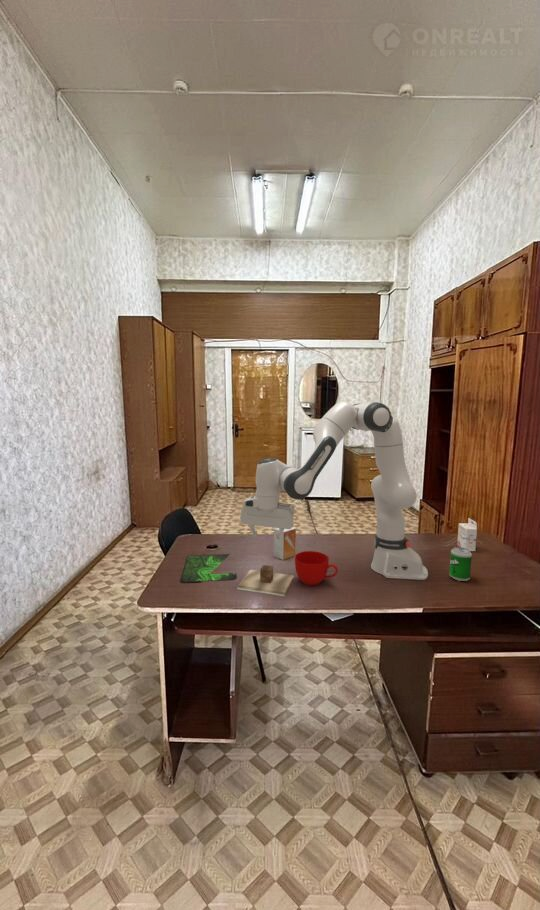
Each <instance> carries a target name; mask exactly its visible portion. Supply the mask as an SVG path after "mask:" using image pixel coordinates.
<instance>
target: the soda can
mask: <svg viewBox="0 0 540 910" xmlns="http://www.w3.org/2000/svg"><path fill="white" fill-rule="evenodd" d="M449 557H450V558H449V569H448V570H449V572H448V573H449V574H448V575H449V577H450V578H451V577H452V578H453V579H455V580H458V581H457V582H459V581H466V582H468V581H469V580H471V573H472V572H471V571H472V559H473V558H472V557H473V554H472V553H471V552H470V550H468V549H466V548H462V547H458V546H455V547H453V548H452V549H451V550H450V556H449ZM452 578H451V579H452ZM453 579H452V580H453ZM455 580H454V581H455Z"/></svg>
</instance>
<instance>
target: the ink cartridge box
mask: <svg viewBox="0 0 540 910" xmlns="http://www.w3.org/2000/svg"><path fill="white" fill-rule="evenodd" d="M467 520H468V521H467V523H460V522H459V523H458V530H457V531H458V533H457V542H456V543H457V544H456V546H457V545H458V546H459V547H462V548H466V549H468V550H470V551H475V552H476V543H477V536H478V535H477V532H478V523H477V521H475V520H474V519H471V518H470V517H468V518H467ZM458 546H457V547H458Z"/></svg>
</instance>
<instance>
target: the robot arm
mask: <svg viewBox="0 0 540 910" xmlns="http://www.w3.org/2000/svg"><path fill="white" fill-rule="evenodd" d="M351 429H355V430H358V431H359V430H360V431H365V432H371V434H372V436H373V443H374V444H373V445H374V447H373V448H374V457H375V458H374V459H375V465H376V467H377V469H378V471H379V474H378V475H376V476H374V478H373V479H372V481H371V482H370V483H371V484H370V487H371V491H372V494H373V499H374V505H375V512H376V532H375V536H374V543H373V544H374V554H373V556H372V557H373V558H372V562H371V564H370V568H371V570H372V571H374V572H375V573H378V574H380V575H383V577H384V578H387V579H402V580H419V581H421V580H423V581H425V580H427V579H428V577H429V571H428V568H426V566H425V565H423V561H422V558H421V556H420V555H419V554H418V553H417V552H416V551H415V550H414V549H412V544H411V542H410V540H409V538H408V537H405V529H406V525H405V524H406V519H405V515H404V513H403V510H405V509H406V510H407V509H409V508H411V507H413V506H414V505H415V503H416V501H417V496H418V495H417V491H416V489H415V488H414V486H413V484H412V482H411V479H410V476H409V472H408V469H407V466H406V462H405V461H406V460H405V452H404V451H405V450H404V442H403V441H404V440H403V434H402V429H401V425H400V423H399V420H398V419H397V418H396V417H394V416H392V412H391V410H390V408H389V407H388V405H386V404H385V403H382V402H378V401H375V402H374V401H369V402H368V401H367V402H359V403H355V404H352V403H350V402H348V401H344V400H342V401H341V400H340V401H338V402H337V403H336V404H334V405H333V406H332V407H331V408H330V409H329V410H328V411H327V412H326V413H325V414H323V416H322V417H321V419H320V420H319V421H318V422H317V424H316V426H315V427H314V429H313V431H312V436H313V440H314V443H315V447H314V448H313V450H312V452H311V454H310V455H309V456H308V458H307V459H306V460H305V463H304V464H303V465H302V466H301V467H300V468H297V467H294V466H292V465H288V464H286V463H284V462H282V461H280V460H279V459H278V458H276V457H268V458H267V457H266V458H263V459H261V460H260V461H258V463H257V466H256V472H255V486H256V490H255V495H253V496H249V497H247V498H246V499H244V500H242V506H243V507H242V508H241V511H240V518H239V519H240V520H239V521H240V523H241V524H242V525H246V526H249V530H250V532H251V534H252V535H251V536H252V537H254V538H255V537H257V536H258V531H257V530H256V529H255V526H257V527H266V528H274V529H276V528H279V531H281V532H280V533H279V534H277V535H276V537H277V538H276V539H279V540H280V539H281V534H282V532H283V531H284V529H291V528H292V527H293V528H294V526H295V519H294V518H295V517H294V514H295V507H294V505H292V504H291V503H283V502H280V493H281V492H285V493H286V495H288V497H290V498H292V499H294V500H303V499H305V498H307V497H308V496H309V495H310V494H311V493H312V491H313V489H314V486H315V482H316V480H317V478H318V476H319V475H320V473H322V470H323V469H324V468H325V466H326V465H327V463H328V462H329V460H330V459H331V458H332V456H333V455H334V452H335V451H336V449H337V447H338V445H339V444H340V442H342V440H343V439H344V437H345V436H346V435H347V433H348V432H349V431H350V430H351ZM402 509H403V510H402Z"/></svg>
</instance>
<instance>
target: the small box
mask: <svg viewBox="0 0 540 910" xmlns="http://www.w3.org/2000/svg"><path fill="white" fill-rule="evenodd" d="M280 532H281V531H279V528H274V529H273V557H274V558H277V559H279V560H282V561H285V560H287V559H289V558H292V557H295V556H296V542H297V541H296V540H297V539H296V537H297V536H296V534H297V533H296V532H297V528H296V527H294V526H293V527H292V528H291V529H284V531H283V532H282V534H281V539H280V540H279V539H276V538H277V537H276V535H277V534H279V533H280Z"/></svg>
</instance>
